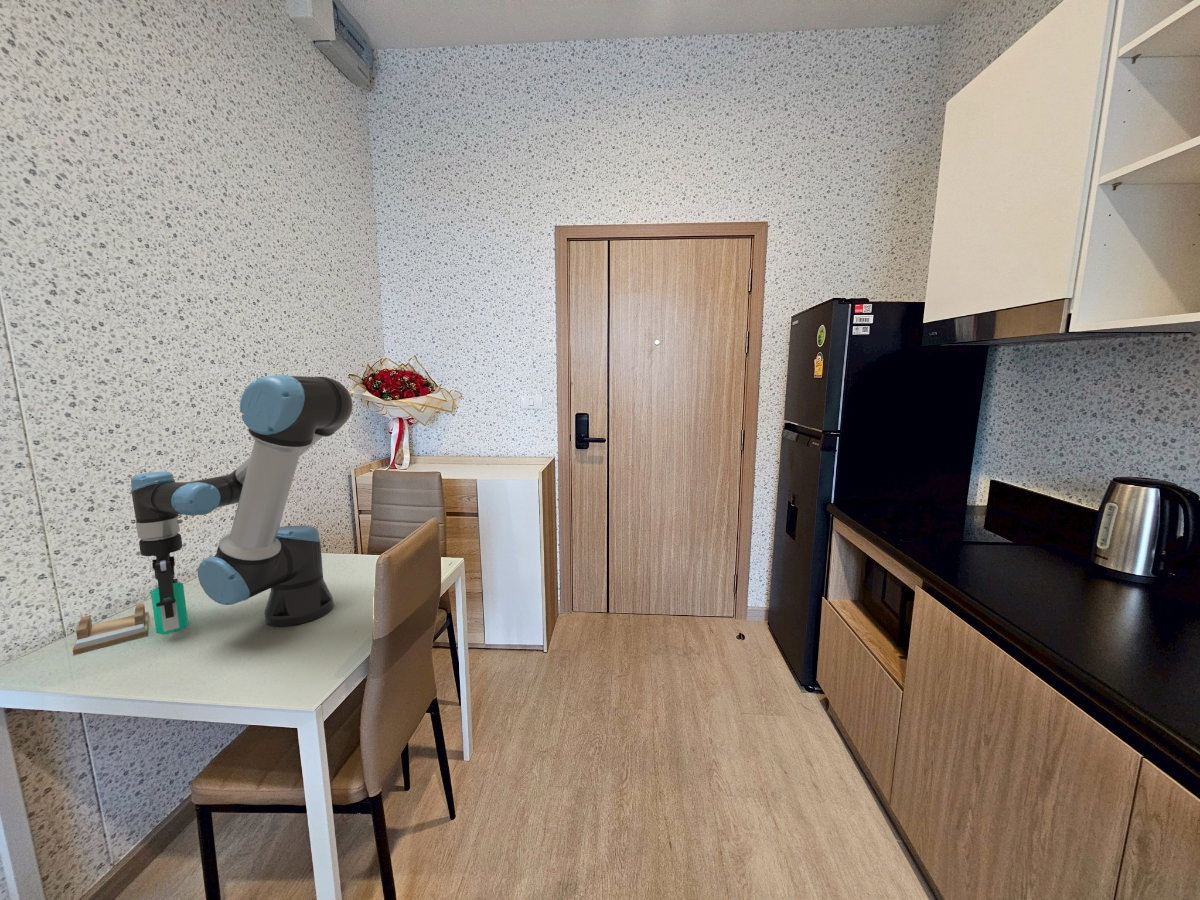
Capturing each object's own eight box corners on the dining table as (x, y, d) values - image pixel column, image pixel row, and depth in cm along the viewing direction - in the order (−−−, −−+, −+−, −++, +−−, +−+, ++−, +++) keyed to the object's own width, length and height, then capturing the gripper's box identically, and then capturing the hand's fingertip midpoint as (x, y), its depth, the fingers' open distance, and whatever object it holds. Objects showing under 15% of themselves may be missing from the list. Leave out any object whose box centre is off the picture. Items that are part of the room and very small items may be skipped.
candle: (192, 620, 121) (187, 575, 120) (182, 631, 116) (175, 584, 114) (163, 624, 119) (157, 579, 117) (150, 636, 113) (144, 588, 112)
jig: (147, 635, 114) (145, 619, 113) (73, 655, 106) (70, 637, 105) (149, 615, 124) (146, 600, 123) (81, 632, 116) (79, 615, 115)
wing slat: (144, 631, 113) (143, 627, 113) (76, 648, 106) (75, 644, 106) (144, 627, 115) (143, 623, 115) (77, 644, 108) (77, 639, 108)
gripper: (181, 544, 108) (193, 632, 110) (179, 522, 126) (189, 598, 129) (136, 552, 103) (149, 644, 105) (140, 528, 121) (151, 607, 124)
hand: (171, 619), depth 117 cm, fingers open, 13 cm apart
